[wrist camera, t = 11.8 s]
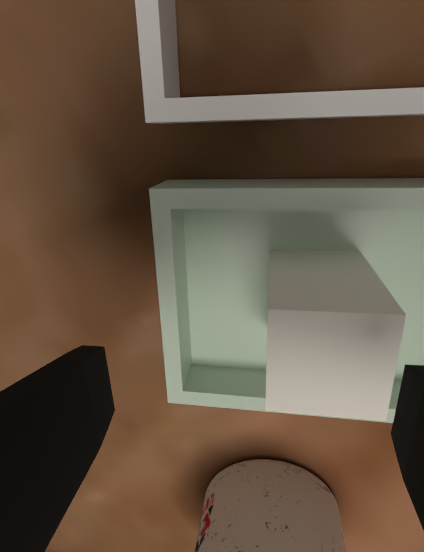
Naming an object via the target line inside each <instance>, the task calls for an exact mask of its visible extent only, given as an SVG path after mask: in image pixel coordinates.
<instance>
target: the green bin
mask: <svg viewBox="0 0 424 552" xmlns="http://www.w3.org/2000/svg"><path fill="white" fill-rule="evenodd" d="M149 195H150V206H151V218H152V229H153V240H154V251H155V262H156V274H157V285H158V296H159V307H160V318H161V329H162V341H163V352H164V363H165V374H166V385H167V396H168V403H178V404H189V405H200V406H211V407H222V408H233V409H244V410H255V411H265V401H266V363H267V325H268V289H269V252H270V250H303V251H361V253H362V254H363V256H364V257H365V258H366V260H367V261H368V263H369V264H370V265H371V267H372V268H373V269H374V271H375V272H376V274H377V275H378V276H379V278H380V279H381V281H382V282H383V283H384V285H385V286H386V288H387V289H388V290H389V292H390V293H391V294H392V296H393V297H394V299H395V300H396V301H397V303H398V304H399V306H400V307H401V308H402V310H403V311H404V313H405V314H406V319H405V324H404V329H403V335H402V340H401V345H400V351H399V356H398V361H397V366H396V372H395V377H394V382H393V388H392V393H391V398H390V404H389V409H388V414H387V419H386V421H379V420H367V419H355V418H344V419H355V420H366V421H377V422H388V423H393V421H394V416H395V411H396V406H397V401H398V396H399V391H400V387H401V382H402V377H403V372H404V367H405V364H406V365H423V366H424V178H335V179H192V180H166V181H164V182H162V183H160V184H158V185H156V186H154V187H152V188H149ZM266 412H272V411H266ZM277 413H284V412H277ZM288 414H295V413H288ZM299 415H307V414H299ZM310 416H319V415H310ZM321 417H331V416H321ZM332 418H343V417H332Z"/></svg>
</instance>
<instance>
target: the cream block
mask: <svg viewBox="0 0 424 552" xmlns="http://www.w3.org/2000/svg"><path fill="white" fill-rule="evenodd" d="M405 319H406V314H405V313H404V311H403V310H402V308H401V307H400V306H399V304H398V303H397V301H396V300H395V299H394V297H393V296H392V294H391V293H390V292H389V290H388V289H387V288H386V286H385V285H384V283H383V282H382V281H381V279H380V278H379V276H378V275H377V274H376V272H375V271H374V269H373V268H372V267H371V265H370V264H369V263H368V261H367V260H366V258H365V257H364V256H363V254H362V253H361V251H303V250H270V252H269V289H268V325H267V363H266V401H265V411H272V412H284V413H295V414H307V415H319V416H331V417H343V418H355V419H367V420H379V421H386V419H387V414H388V409H389V404H390V398H391V393H392V388H393V382H394V377H395V372H396V366H397V361H398V356H399V351H400V345H401V340H402V335H403V329H404V324H405Z"/></svg>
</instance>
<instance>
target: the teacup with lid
mask: <svg viewBox="0 0 424 552" xmlns="http://www.w3.org/2000/svg"><path fill="white" fill-rule="evenodd" d="M195 552H346V548H345V542H344V536H343V530H342V525H341V519H340V513H339V508H338V505H337V502H336V499H335V497H334V496H333V494H332V492H331V491H330V489H329V488H328V487H327V486H326V485H325V484H324V483H323V482H322V481H321V480H320V479H319V478H318V477H316V476H315V475H313V474H312V473H310V472H309V471H307V470H305V469H303V468H301V467H299V466H296V465H293V464H290V463H287V462H283V461H277V460H269V459H254V460H247V461H242V462H239V463H236V464H233V465H231V466H229V467H227V468H225V469H224V470H222V471H221V472H219V473H218V474H217V475H216V476H215V477H214V478H213V480H212V481H211V482H210V484H209V486H208V488H207V490H206V493H205V498H204V504H203V509H202V515H201V520H200V525H199V531H198V536H197V542H196V547H195Z"/></svg>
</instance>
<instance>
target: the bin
mask: <svg viewBox="0 0 424 552" xmlns="http://www.w3.org/2000/svg"><path fill="white" fill-rule="evenodd" d="M135 6H136V18H137V29H138V41H139V52H140V64H141V75H142V87H143V98H144V110H145V121H146V123H159V124H172V123H203V122H235V121H267V120H299V119H331V118H362V117H394V116H424V87H420V88H397V89H373V90H350V91H326V92H303V93H279V94H256V95H232V96H208V97H185V98H180V83H179V64H178V45H177V26H176V7H175V0H135Z"/></svg>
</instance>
